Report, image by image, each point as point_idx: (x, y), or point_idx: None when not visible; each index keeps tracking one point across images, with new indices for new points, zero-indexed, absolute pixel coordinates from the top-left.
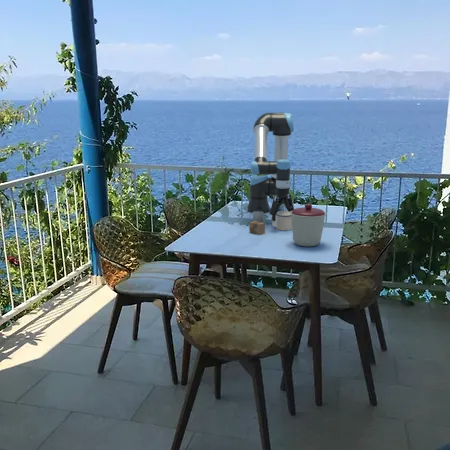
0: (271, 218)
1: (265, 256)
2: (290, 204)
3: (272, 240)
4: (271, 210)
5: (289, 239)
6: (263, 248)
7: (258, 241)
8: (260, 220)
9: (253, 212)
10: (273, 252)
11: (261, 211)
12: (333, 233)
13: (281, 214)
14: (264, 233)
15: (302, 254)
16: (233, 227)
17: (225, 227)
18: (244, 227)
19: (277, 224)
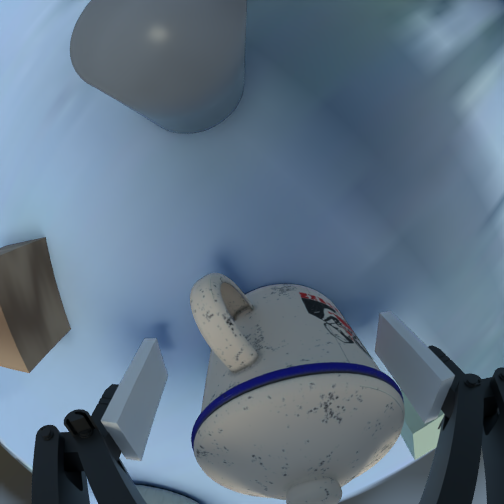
0: (190, 295)
1: (8, 446)
2: (492, 459)
3: (58, 420)
4: (44, 474)
5: (135, 461)
6: (10, 425)
7: (6, 382)
8: (156, 119)
9: (82, 13)
10: (29, 454)
11: (229, 9)
12: (368, 480)
13: (211, 476)
14: (67, 329)
15: (94, 500)
16: (21, 65)
17: (4, 50)
18: (56, 94)
19: (210, 354)
